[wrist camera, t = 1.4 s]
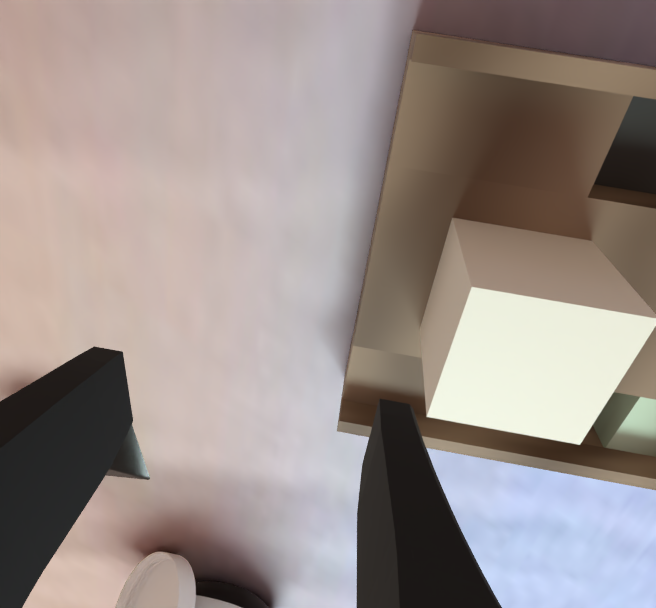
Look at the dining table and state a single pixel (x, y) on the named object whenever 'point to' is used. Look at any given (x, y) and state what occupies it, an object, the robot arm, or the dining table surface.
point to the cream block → (527, 331)
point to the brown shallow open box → (510, 225)
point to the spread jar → (179, 587)
